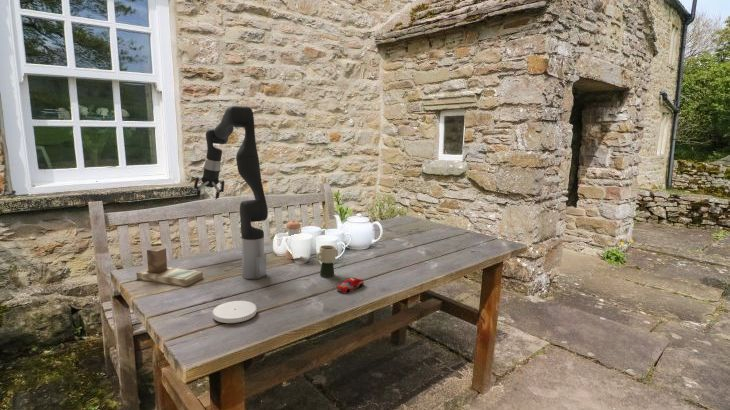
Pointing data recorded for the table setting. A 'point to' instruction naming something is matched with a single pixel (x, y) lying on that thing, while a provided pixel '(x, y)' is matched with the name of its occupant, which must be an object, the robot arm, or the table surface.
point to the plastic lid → (234, 311)
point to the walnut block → (157, 260)
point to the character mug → (327, 259)
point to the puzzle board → (172, 276)
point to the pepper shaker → (292, 233)
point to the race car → (350, 285)
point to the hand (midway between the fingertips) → (207, 197)
